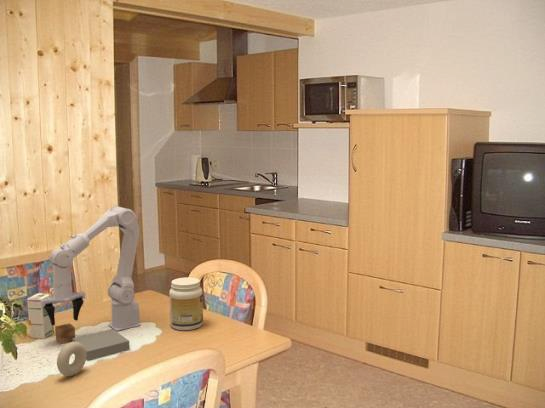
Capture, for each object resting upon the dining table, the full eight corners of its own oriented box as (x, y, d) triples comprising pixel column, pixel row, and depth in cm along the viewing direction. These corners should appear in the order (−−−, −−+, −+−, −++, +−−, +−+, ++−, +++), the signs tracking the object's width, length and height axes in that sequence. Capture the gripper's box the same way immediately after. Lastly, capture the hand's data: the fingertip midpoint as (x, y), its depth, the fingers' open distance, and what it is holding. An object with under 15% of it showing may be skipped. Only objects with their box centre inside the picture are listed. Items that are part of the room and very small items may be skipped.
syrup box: (44, 339, 191) (42, 298, 189) (29, 337, 193) (26, 297, 191) (54, 333, 197) (51, 293, 195) (39, 331, 198) (36, 292, 196)
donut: (81, 367, 169) (80, 335, 168) (89, 369, 168) (88, 338, 166) (55, 380, 160) (53, 347, 159) (63, 382, 159) (61, 349, 157)
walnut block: (70, 336, 194) (69, 323, 193) (75, 341, 190) (74, 327, 189) (55, 340, 190) (55, 326, 190) (60, 344, 187) (59, 330, 186)
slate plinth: (112, 336, 193) (112, 328, 193) (129, 349, 182) (129, 340, 182) (72, 346, 185) (72, 338, 184) (87, 360, 174) (87, 351, 173)
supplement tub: (207, 328, 202) (207, 283, 199) (175, 333, 196) (174, 287, 194) (197, 317, 213) (196, 274, 210) (166, 322, 207) (164, 278, 205)
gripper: (43, 290, 180) (46, 330, 182) (87, 282, 189) (89, 320, 190) (37, 285, 185) (39, 324, 187) (80, 278, 194) (82, 315, 196)
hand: (64, 322), depth 189 cm, fingers open, 7 cm apart
